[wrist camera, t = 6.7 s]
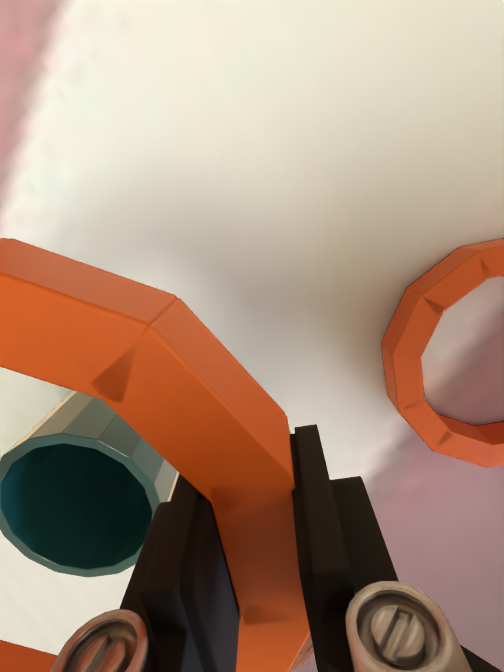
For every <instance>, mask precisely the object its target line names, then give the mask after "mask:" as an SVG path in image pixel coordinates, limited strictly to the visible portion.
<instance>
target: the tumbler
mask: <svg viewBox="0 0 504 672" xmlns="http://www.w3.org/2000/svg"><path fill="white" fill-rule="evenodd" d="M178 475H179V472H178V471H177V470H176V469H175V468H174V467H173V466H172V465H170V464H169V463H168V462H167V461H166V460H165V459H164V458H163V457H162V456H161V455H160V454H159V453H158V452H157V451H156V450H155V449H154V448H153V447H152V446H151V445H149V444H148V443H147V442H146V441H145V440H144V439H143V438H142V437H141V436H140V435H139V434H138V433H137V432H136V431H135V430H134V429H133V428H132V427H131V426H130V425H128V424H127V423H126V422H125V421H124V420H123V419H122V418H121V417H120V416H119V415H118V414H117V413H116V412H115V411H114V410H113V409H112V408H111V407H110V406H109V405H107V404H106V403H105V402H104V401H103V400H102V399H99V398H96V397H93V396H90V395H86V394H83V393H80V392H77V391H74V390H73V391H72V392H71V393H70V394H69V395H68V396H67V397H66V398H65V399H64V400H62V401H61V402H60V403H59V404H58V405H57V406H56V407H55V408H54V409H53V410H52V411H51V412H50V413H48V414H47V415H46V416H45V417H44V418H43V419H42V420H41V421H40V422H39V423H38V424H37V425H35V426H34V427H33V428H32V429H31V430H30V431H29V432H28V433H27V434H26V435H25V436H24V437H22V438H21V439H20V440H19V441H18V442H17V443H16V444H15V445H14V446H13V447H12V448H11V449H10V450H8V451H7V452H6V453H5V454H4V455H3V456H2V458H1V460H0V529H1V531H2V533H3V535H4V537H6V538H7V539H8V540H9V541H10V542H11V543H12V544H13V545H14V546H15V547H16V548H17V549H18V550H19V551H20V552H21V553H22V554H24V555H25V556H26V557H27V558H29V559H31V560H33V561H35V562H37V563H39V564H41V565H43V566H45V567H47V568H49V569H51V570H53V571H55V572H56V571H57V572H59V573H65V574H70V575H76V576H82V577H96V576H103V575H111V574H117V573H120V572H122V571H124V570H126V569H128V568H129V567H131V566H133V565H135V564H136V563H137V560H138V557H139V554H140V552H141V549H142V546H143V544H144V541H145V538H146V535H147V533H148V530H149V527H150V525H151V522H152V519H153V517H154V514H155V511H156V509H157V507H158V505H159V504H160V503H161V502H168V501H170V500H171V497H172V494H173V491H174V488H175V485H176V482H177V478H178Z"/></svg>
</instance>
